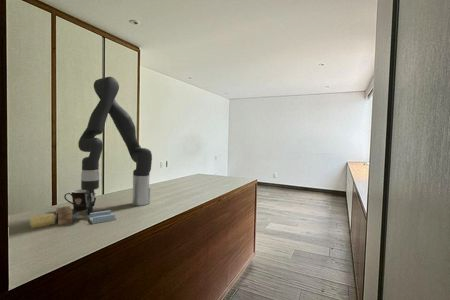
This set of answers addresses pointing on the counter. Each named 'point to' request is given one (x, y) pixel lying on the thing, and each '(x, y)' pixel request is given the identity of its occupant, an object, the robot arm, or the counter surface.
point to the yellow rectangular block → (42, 220)
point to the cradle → (101, 217)
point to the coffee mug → (78, 200)
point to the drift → (74, 217)
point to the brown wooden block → (64, 215)
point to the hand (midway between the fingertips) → (89, 214)
